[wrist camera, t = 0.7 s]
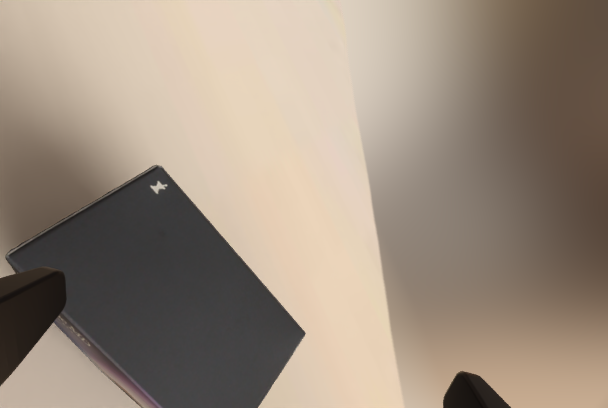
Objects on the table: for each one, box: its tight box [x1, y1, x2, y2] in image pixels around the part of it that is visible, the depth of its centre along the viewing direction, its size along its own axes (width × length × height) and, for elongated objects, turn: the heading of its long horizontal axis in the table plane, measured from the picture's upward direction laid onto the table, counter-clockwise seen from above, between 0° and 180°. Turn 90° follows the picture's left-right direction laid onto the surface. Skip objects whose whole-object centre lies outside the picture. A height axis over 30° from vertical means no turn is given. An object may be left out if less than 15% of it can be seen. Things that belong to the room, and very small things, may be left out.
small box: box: [5, 165, 306, 408], centre depth 17 cm, size 11×6×10 cm, turn 48°
